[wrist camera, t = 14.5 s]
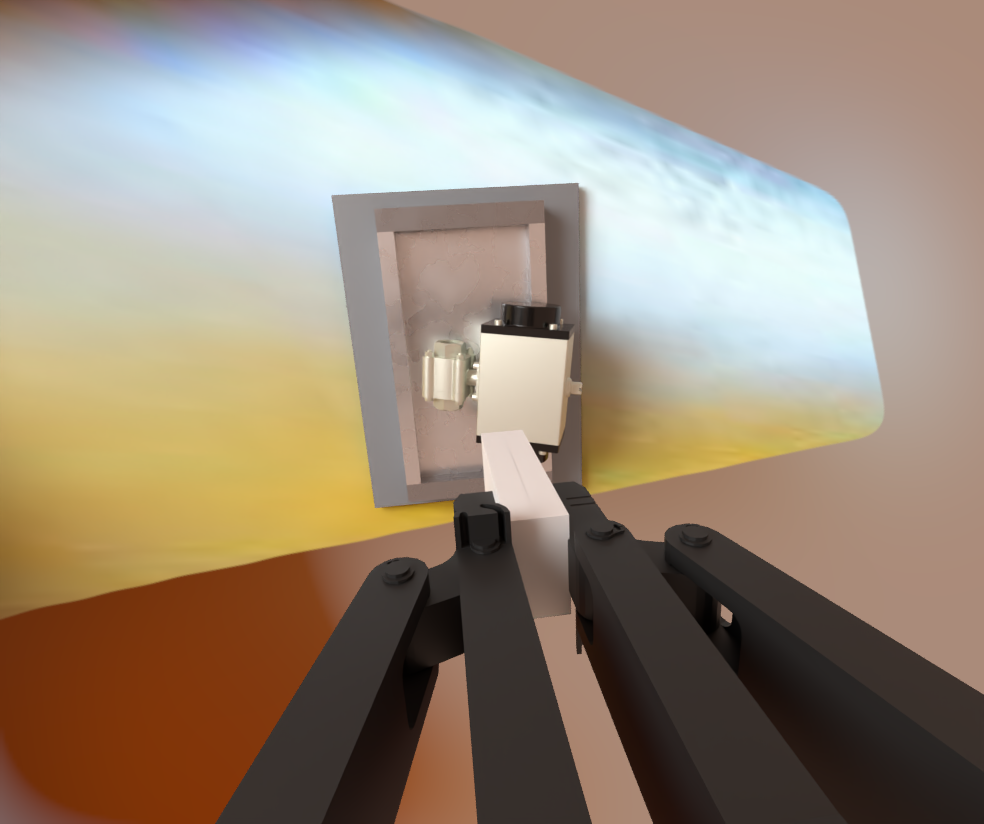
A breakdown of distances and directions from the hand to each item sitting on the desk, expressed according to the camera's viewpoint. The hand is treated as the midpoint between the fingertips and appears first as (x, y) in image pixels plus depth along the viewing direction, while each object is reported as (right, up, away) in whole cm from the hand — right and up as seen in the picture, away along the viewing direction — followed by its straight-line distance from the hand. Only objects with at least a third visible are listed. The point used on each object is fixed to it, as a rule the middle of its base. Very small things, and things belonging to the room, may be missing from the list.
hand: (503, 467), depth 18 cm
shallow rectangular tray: (-2, +7, +25) cm, 26 cm away
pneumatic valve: (-5, +5, +21) cm, 23 cm away
